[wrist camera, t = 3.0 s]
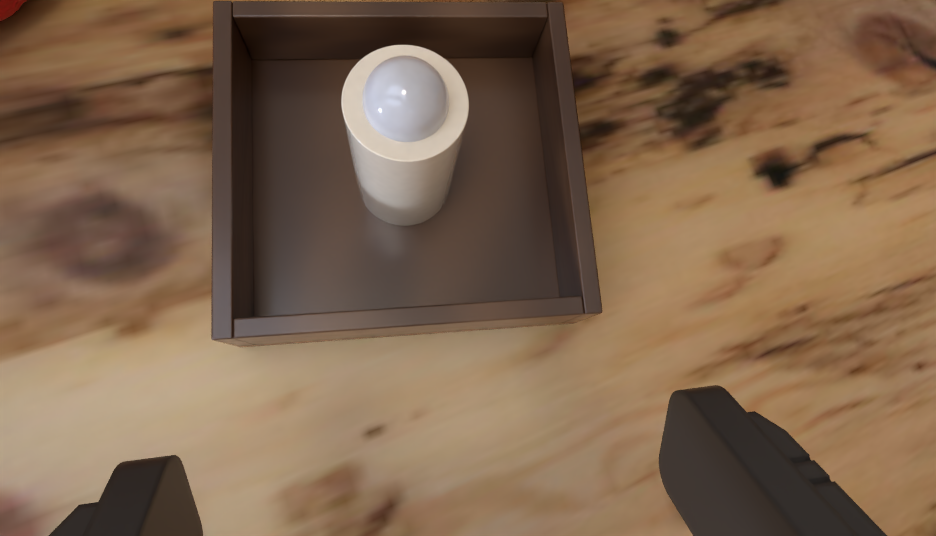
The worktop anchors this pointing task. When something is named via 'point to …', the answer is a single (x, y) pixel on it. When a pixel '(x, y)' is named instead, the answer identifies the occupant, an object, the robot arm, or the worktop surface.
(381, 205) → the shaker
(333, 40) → the tray
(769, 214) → the worktop surface
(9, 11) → the pomegranate
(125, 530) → the robot arm
